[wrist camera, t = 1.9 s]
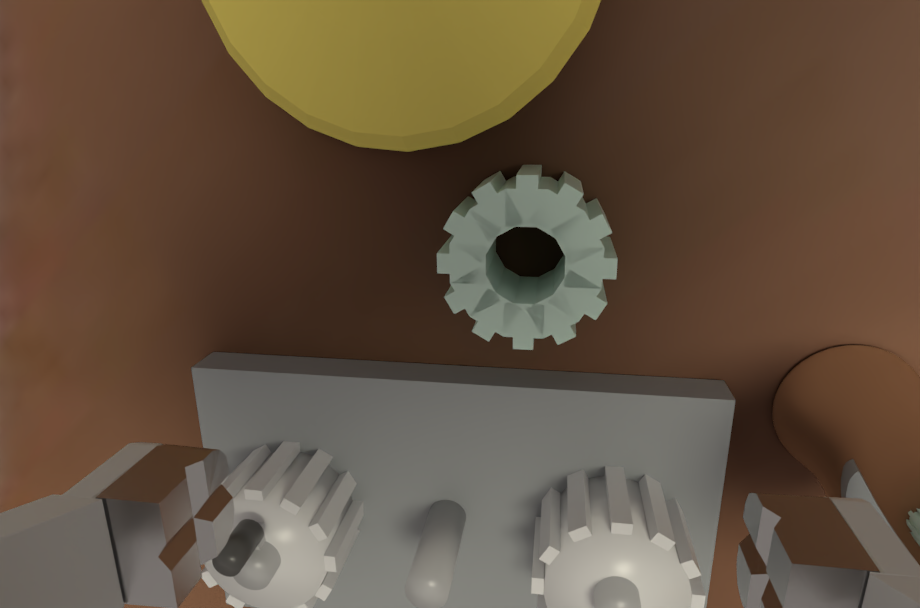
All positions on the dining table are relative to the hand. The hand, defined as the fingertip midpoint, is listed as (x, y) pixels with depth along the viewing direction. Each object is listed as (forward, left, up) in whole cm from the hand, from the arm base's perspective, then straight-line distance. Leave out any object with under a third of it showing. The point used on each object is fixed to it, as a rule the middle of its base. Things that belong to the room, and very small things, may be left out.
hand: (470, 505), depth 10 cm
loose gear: (0, 0, -19) cm, 19 cm away
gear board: (+13, -3, -19) cm, 23 cm away
